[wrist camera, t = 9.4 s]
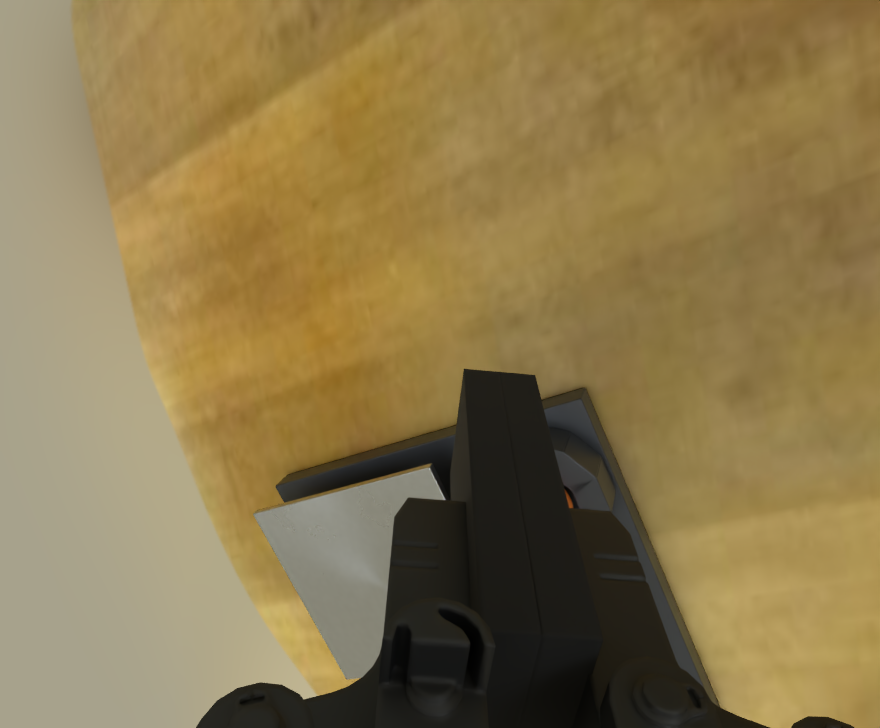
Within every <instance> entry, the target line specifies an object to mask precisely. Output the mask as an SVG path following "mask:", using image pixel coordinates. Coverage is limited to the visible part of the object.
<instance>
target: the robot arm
mask: <svg viewBox="0 0 880 728" xmlns="http://www.w3.org/2000/svg"><path fill="white" fill-rule="evenodd" d="M450 488H451V501H448V500H436V499H423V498H410V497H408V498H407V500H406V501H405V503H404V504H403V505H402V507H401V508H400V510H399V511H398V512H397V514H396V515H395V517H394V525H393V536H392V546H391V557H390V568H389V579H388V590H387V600H386V611H385V622H384V633H383V638H382V646H381V650H380V654H379V656H378V658H377V660H376V661H375V663H374V665H373V667H372V668H371V669H370V670H369V671H368V672H367V673H366V674H365V675H364V676H363V677H362V678H361V679H359V680H358V681H356V682H354V683H353V684H351V685H350V686H348V687H346V688H343V689H340V690H338V691H335V692H332V693H328V694H324V695H320V696H316V697H312V698H309V699H305V700H303V698H302V697H301V696H300V695H299V694H298V693H296V692H294V691H292V690H290V689H288V688H286V687H285V686H283V685H278V684H268V683H256V684H252V685H248V686H244V687H240V688H237V689H235V690H234V691H232V692H231V693H229V694H227V695H226V696H224V697H222V698H221V699H219V700H218V701H217V702H216V703H215V704H214V705H213V706H212V707H211V708H210V710H209V711H208V712H207V713H206V714H205V715H204V717H203V718H202V719H201V721H200V722H199V724H198V725H197V727H196V728H769V727H766V726H764V725H761V724H758V723H755V722H753V721H750V720H747V719H745V718H742V717H739V716H737V715H735V714H732V713H730V712H728V711H726V710H724V709H722V708H720V707H719V706H717V705H716V704H714V703H713V702H712V701H711V699H710V698H709V696H708V694H707V692H706V691H705V689H704V687H703V686H702V685H701V684H700V683H698V682H697V681H696V680H695V679H694V678H693V677H692V676H691V675H690V674H689V673H688V672H687V671H685V670H683V669H681V668H680V667H679V665H678V663H677V661H676V659H675V656H674V653H673V650H672V648H671V645H670V642H669V639H668V637H667V634H666V631H665V628H664V626H663V623H662V620H661V617H660V615H659V612H658V609H657V606H656V604H655V601H654V598H653V595H652V593H651V590H650V587H649V584H648V583H646V576H645V573H644V570H643V568H642V565H641V562H639V557H638V554H637V551H636V548H635V546H634V543H633V540H632V537H631V535H630V533H629V532H628V530H627V529H626V528H625V527H624V526H623V525H622V524H621V522H620V521H619V520H618V519H617V518H616V517H615V516H614V515H613V513H612V512H611V511H600V510H588V509H575V508H569V505H568V501H567V497H566V493H565V489H564V486H563V482H562V478H561V474H560V470H559V466H558V462H557V458H556V455H555V451H554V447H553V443H552V439H551V435H550V431H549V428H548V424H547V420H546V416H545V412H544V408H543V404H542V400H541V397H540V393H539V389H538V385H537V381H536V377H535V375H527V374H516V373H504V372H493V371H482V370H470V369H464V373H463V380H462V388H461V396H460V403H459V411H458V418H457V426H456V433H455V441H454V448H453V456H452V463H451V471H450ZM792 728H854V727H853V726H851V725H849V724H846V723H843V722H840V721H837V720H835V719H832V718H829V717H806V718H804V719H802V720H800V721H798V722H796V723H794V724H793V726H792Z"/></svg>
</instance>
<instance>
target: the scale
mask: <svg viewBox="0 0 880 728" xmlns="http://www.w3.org/2000/svg"><path fill="white" fill-rule="evenodd" d="M542 404H543V408H544V412H545V416H546V420H547V424H548V428H549V431H550V435H551V439H552V443H553V447H554V451H555V455H556V458H557V462H558V466H559V470H560V474H561V478H562V482H563V486H564V489H565V490H566V491H567V493H568V494H569V496H570V498H571V500H572V503H573V508H575V509H588V510H600V511H611V512H612V513H613V515H614V516H615V517H616V518H617V519H618V520H619V521H620V522H621V524H622V525H623V526H624V527H625V528H626V529H627V530H628V532H629V533H630V535H631V537H632V540H633V543H634V546H635V548H636V551H637V554H638V557H639V562H641V565H642V568H643V570H644V573H645V576H646V583H648V584H649V587H650V590H651V593H652V595H653V598H654V601H655V604H656V606H657V609H658V612H659V615H660V617H661V620H662V623H663V626H664V628H665V631H666V634H667V637H668V639H669V642H670V645H671V648H672V650H673V653H674V656H675V659H676V661H677V663H678V665H679V667H680V668H681V669H683V670H685V671H687V672H688V673H689V674H690V675H691V676H692V677H693V678H694V679H695V680H696V681H697V682H698V683H700V684H701V685H702V686H703V687H704V689H705V691H706V692H707V694H708V696H709V698H710V699H711V701H712V702H713V703H714V704H716V705H717V706H719V704H718V701H717V699H716V697H715V694H714V692H713V690H712V687H711V685H710V682H709V680H708V678H707V675H706V673H705V671H704V668H703V666H702V663H701V661H700V659H699V656H698V654H697V652H696V649H695V647H694V644H693V642H692V640H691V637H690V635H689V633H688V630H687V628H686V625H685V623H684V621H683V618H682V616H681V614H680V611H679V609H678V606H677V604H676V602H675V599H674V597H673V595H672V592H671V590H670V587H669V585H668V583H667V580H666V578H665V576H664V573H663V571H662V568H661V566H660V564H659V561H658V559H657V557H656V554H655V552H654V549H653V547H652V545H651V542H650V540H649V538H648V535H647V533H646V530H645V528H644V526H643V523H642V521H641V519H640V516H639V514H638V511H637V509H636V507H635V504H634V502H633V500H632V497H631V495H630V492H629V490H628V488H627V485H626V483H625V481H624V478H623V476H622V473H621V471H620V469H619V466H618V464H617V462H616V459H615V457H614V454H613V452H612V450H611V447H610V445H609V443H608V440H607V438H606V435H605V433H604V431H603V428H602V426H601V424H600V421H599V419H598V416H597V414H596V412H595V409H594V407H593V405H592V402H591V400H590V397H589V395H588V393H587V390H586V388H582V389H578V390H575V391H572V392H568V393H565V394H561V395H558V396H555V397H551V398H548V399H544V400H542ZM456 426H457V425H456ZM456 426H452V427H449V428H446V429H442V430H439V431H435V432H432V433H429V434H425V435H422V436H418V437H415V438H412V439H408V440H405V441H401V442H398V443H394V444H391V445H388V446H384V447H381V448H377V449H374V450H371V451H367V452H364V453H360V454H357V455H354V456H350V457H347V458H343V459H340V460H337V461H333V462H330V463H326V464H323V465H320V466H316V467H313V468H309V469H306V470H302V471H299V472H296V473H292V474H289V475H287V476H286V477H285V478H283V479H282V480H281V481H280V482H279V483H278V484H277V485H276V489H277V490H278V492H279V494H280V496H281V498H282V499H283V501H284V503H285V502H289V501H293V500H297V499H300V498H304V497H308V496H311V495H315V494H319V493H323V492H326V491H330V490H334V489H338V488H341V487H345V486H349V485H352V484H356V483H360V482H364V481H367V480H371V479H375V478H378V477H382V476H386V475H390V474H393V473H397V472H401V471H405V470H408V469H412V468H416V467H419V466H423V465H427V464H431V463H432V464H433V466H434V468H435V470H436V472H437V474H438V476H439V478H440V480H441V482H442V484H443V486H444V488H445V490H446V492H447V494H448V496H449V498H450V500H451V488H450V471H451V463H452V456H453V448H454V441H455V433H456ZM719 707H720V706H719Z"/></svg>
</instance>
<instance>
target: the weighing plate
mask: <svg viewBox="0 0 880 728" xmlns="http://www.w3.org/2000/svg"><path fill="white" fill-rule="evenodd" d="M408 497H410V498H423V499H436V500H448V501H451V500H450V498H449V496H448V494H447V492H446V490H445V488H444V486H443V484H442V482H441V480H440V478H439V476H438V474H437V472H436V470H435V468H434V466H433V464H432V463H431V464H427V465H423V466H419V467H416V468H412V469H408V470H405V471H401V472H397V473H393V474H390V475H386V476H382V477H378V478H375V479H371V480H367V481H364V482H360V483H356V484H352V485H349V486H345V487H341V488H338V489H334V490H330V491H326V492H323V493H319V494H315V495H311V496H308V497H304V498H300V499H297V500H293V501H289V502H285V503H282V504H278V505H274V506H271V507H267V508H263V509H259V510H257V511H256V512H255V513H254V514H253V515H254V517H255V519H256V520H257V522H258V524H259V526H260V527H261V529H262V531H263V533H264V534H265V536H266V538H267V540H268V541H269V543H270V545H271V547H272V549H273V550H274V552H275V554H276V556H277V557H278V559H279V561H280V563H281V564H282V566H283V568H284V570H285V572H286V573H287V575H288V577H289V579H290V580H291V582H292V584H293V586H294V587H295V589H296V591H297V593H298V594H299V596H300V598H301V600H302V602H303V603H304V605H305V607H306V609H307V610H308V612H309V614H310V616H311V617H312V619H313V621H314V623H315V625H316V626H317V628H318V630H319V632H320V633H321V635H322V637H323V639H324V640H325V642H326V644H327V646H328V647H329V649H330V651H331V653H332V655H333V656H334V658H335V660H336V662H337V663H338V665H339V667H340V669H341V670H342V672H343V674H344V676H345V678H346V679H355V678H362V677H363V676H364V675H365V674H366V673H367V672H368V671H369V670H370V669H371V668H372V667H373V665H374V663H375V661H376V660H377V658H378V656H379V654H380V650H381V646H382V638H383V633H384V622H385V611H386V600H387V590H388V579H389V568H390V557H391V546H392V536H393V525H394V517H395V515H396V514H397V512H398V511H399V510H400V508H401V507H402V505H403V504H404V503H405V501H406V500H407V498H408Z"/></svg>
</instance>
